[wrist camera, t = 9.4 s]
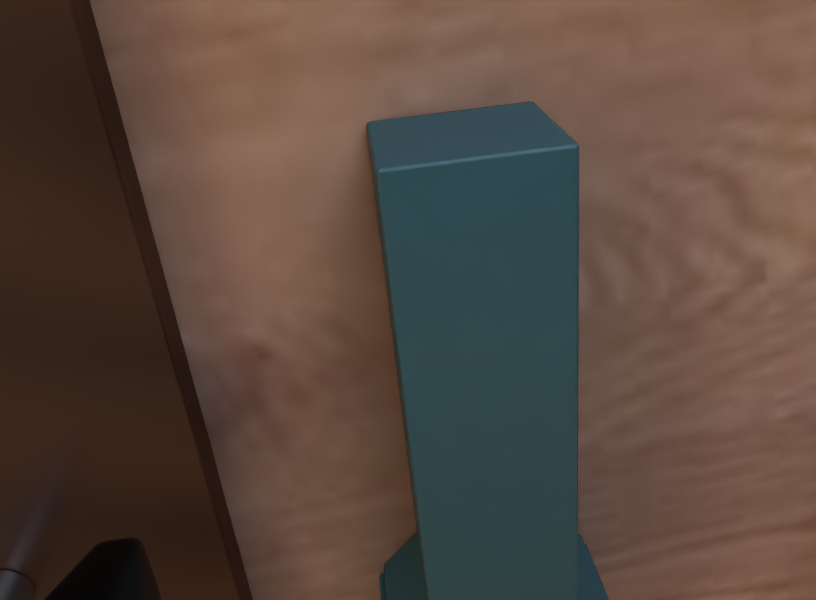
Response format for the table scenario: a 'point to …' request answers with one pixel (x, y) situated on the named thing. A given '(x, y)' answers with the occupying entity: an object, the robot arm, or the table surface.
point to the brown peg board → (90, 336)
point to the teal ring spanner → (485, 351)
